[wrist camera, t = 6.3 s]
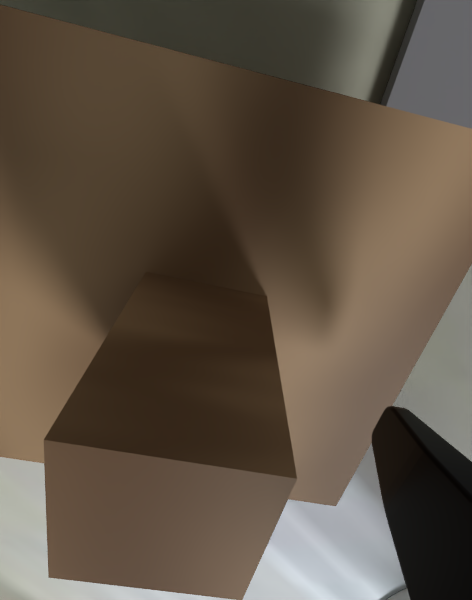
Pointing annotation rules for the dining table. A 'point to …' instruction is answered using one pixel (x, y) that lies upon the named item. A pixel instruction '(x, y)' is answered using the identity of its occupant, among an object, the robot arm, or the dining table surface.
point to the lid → (204, 294)
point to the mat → (435, 63)
